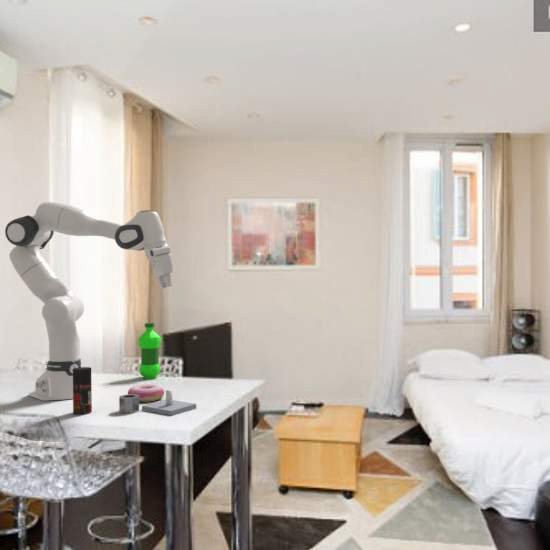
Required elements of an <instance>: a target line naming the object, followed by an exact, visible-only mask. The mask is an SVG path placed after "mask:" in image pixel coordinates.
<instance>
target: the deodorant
mask: <svg viewBox="0 0 550 550" xmlns="http://www.w3.org/2000/svg"><path fill="white" fill-rule="evenodd" d="M92 400H93V399H92V367H89V366H81V367H79V368H74V369H73V398H72V414H73V415H78V416H83V415H89V414H91V413H92V408H93V407H92V406H93V405H92V404H93V403H92Z"/></svg>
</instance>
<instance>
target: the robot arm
mask: <svg viewBox="0 0 550 550" xmlns="http://www.w3.org/2000/svg"><path fill="white" fill-rule="evenodd" d="M4 231H5V232H4V234H5V235H4V236H5V237H6V240H7V241H8V242H9V243H11V244H12V245H14V247H13V248H12V249H11V251H10V252H9V260H10V262H11V264H12V266H13V268H14V270H15V271H16V273H17V274H18V276H19V277H20V278H21V280H22V281H23V282H24V284H25V285H26V287H27V288H28V289H29V290H30V292H31V293H32V294H33V296H34V297H36V298H38V299H39V300H40V301H41V302H42V303H43V304H44V305H43V306H42V310H41V315H42V318H43V320H44V322H45V327H46V332H47V337H48V356H49V357H48V358H49V359H48V361H45V362H44V363H45V364H44V365H46V368H45V369H46V370H45V371H44V372H43V373H42V374H41V375H40V376H39V377H38V378H37V379H36V381H35V385H34V386H35V388H34V391H31V392H29V393H28V396H29V397H32V398H35V399H37V400H40V401H42V402H45V401H61V400H64V401H65V400H70V399H71V400H73V369H74V368H79V367H82V359H81V358H80V355H81V353H80V349H81V348H80V337H79V335H78V334H79V333H78V330H77V325H76V322H77V321H79V319H80V318H81V317H82V316H83V314H84V311H85V307H84V303H83V302H82V300H81V299H80V298H79V297H78V296H76V294H75V293H74V292H73V291H72V290H71V289H70V288H69V287H68V286H67V285H66V284H65V282H63V280H61V278H59V277H58V275H57V274H56V272H55V271H54V270H53V269H52V267H51V266H50V264H49V263H48V262H47V260H45V258H44V256H43V255H42V253H41V250H42V249H44V248H45V247H46V245H47V244H48V243H49V242H50V240H51V239H53V236H54V234H55V233H54V232H56V233H59V234H64V235H68V236H74V237H93V236H95V237H102V238H103V237H104V238H108V239H111V240H115V241H114V242H115V243H116V244H117V246H118V247H119V248H121V249H122V250H127V251H144V253H145V256H146V260H150V263H151V264H150V265H151V268H152V273H153V276H154V278H155V279H157V278H158V282H159V284H160V286H161V289H167V288H168V287H172V286H173V284H172V277H171V274H172V273H174V266H173V261H172V256H171V247H170V246H169V245H168V240H167V238H166V237H165V230H164V225H163V223H162V220H161V218H160V215H159V214H158V213H157V211H154V210H151V209H150V210H141V211H137V212H136V213H135V215H134V216H133V217H132V218H131V219H130V220H129V221H128V222H126V223H124V224H120V223H115V222H111V221H108V220H105V219H102V218H99V217H98V216H95V215H93V214H91V213H89V212H87V211H85V210H84V209H80V208H78V207H75V206H72V205H70V204H65V203H60V202H54V201H53V202H51V201H46V202H45V201H44V202H42V203H40V204H39V205H38V206H37V208H36V210H35V214H34V215H32V216H31V215H29V214H27V215H24V216H22V217H21V216H20V217H17V218H15V219H13V220H11V221H9V222H8V223H7V224H6V226H5V230H4Z"/></svg>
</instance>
